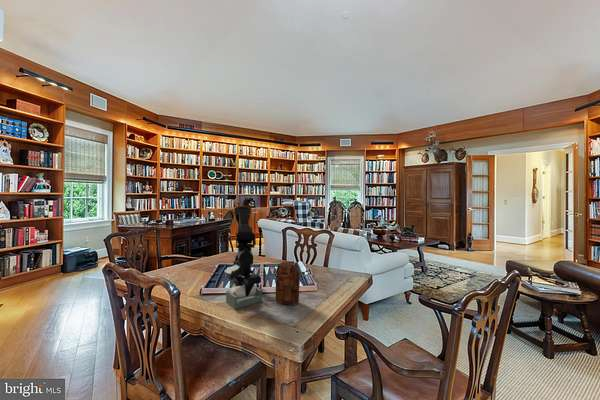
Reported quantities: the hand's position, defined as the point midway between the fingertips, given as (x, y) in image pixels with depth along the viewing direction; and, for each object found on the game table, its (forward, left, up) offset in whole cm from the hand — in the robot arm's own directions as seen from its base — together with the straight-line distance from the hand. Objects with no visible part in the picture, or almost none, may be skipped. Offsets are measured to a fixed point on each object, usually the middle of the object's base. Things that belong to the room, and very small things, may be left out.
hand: (244, 294), depth 126 cm
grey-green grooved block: (0, 0, -4) cm, 4 cm away
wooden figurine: (-15, +11, -4) cm, 19 cm away
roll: (0, 0, -1) cm, 1 cm away
